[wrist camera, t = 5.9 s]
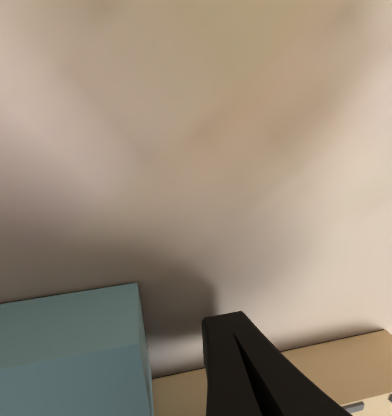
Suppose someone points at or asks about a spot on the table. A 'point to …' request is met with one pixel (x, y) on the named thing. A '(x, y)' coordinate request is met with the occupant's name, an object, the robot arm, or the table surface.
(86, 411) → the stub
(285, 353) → the cream usb hub
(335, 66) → the table surface
